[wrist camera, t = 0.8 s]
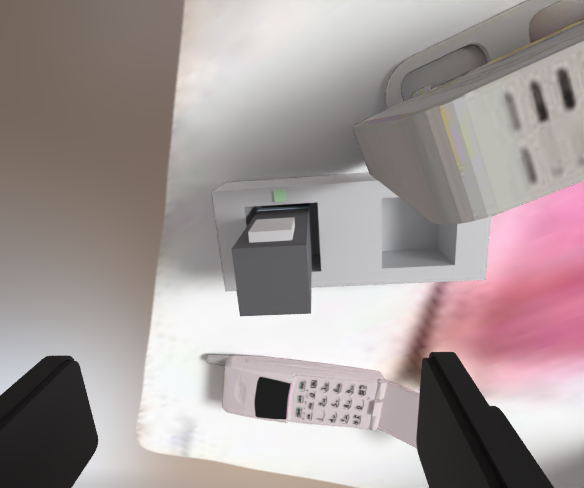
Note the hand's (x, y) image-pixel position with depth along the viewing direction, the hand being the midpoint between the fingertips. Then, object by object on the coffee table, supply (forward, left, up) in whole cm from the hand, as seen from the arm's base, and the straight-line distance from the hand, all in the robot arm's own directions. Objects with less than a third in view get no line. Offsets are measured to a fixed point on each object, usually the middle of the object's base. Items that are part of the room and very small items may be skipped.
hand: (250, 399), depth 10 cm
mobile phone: (-18, -2, -24) cm, 30 cm away
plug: (-1, +1, -22) cm, 22 cm away
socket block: (-1, -4, -23) cm, 24 cm away
